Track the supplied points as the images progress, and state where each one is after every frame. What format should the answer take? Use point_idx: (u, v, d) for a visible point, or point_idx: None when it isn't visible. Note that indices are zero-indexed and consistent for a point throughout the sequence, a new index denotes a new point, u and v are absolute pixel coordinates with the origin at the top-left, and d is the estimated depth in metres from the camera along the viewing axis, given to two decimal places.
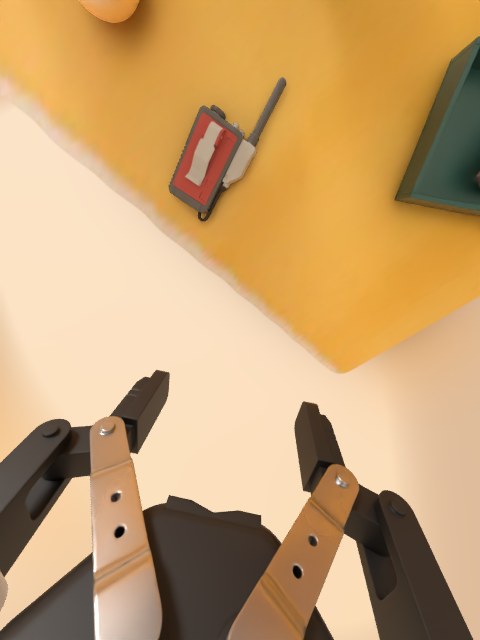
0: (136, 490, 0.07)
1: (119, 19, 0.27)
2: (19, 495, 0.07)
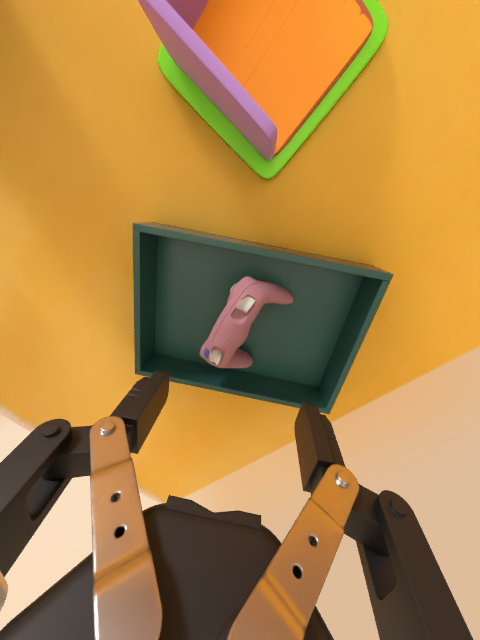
0: (136, 490, 0.07)
1: None
2: (19, 495, 0.07)
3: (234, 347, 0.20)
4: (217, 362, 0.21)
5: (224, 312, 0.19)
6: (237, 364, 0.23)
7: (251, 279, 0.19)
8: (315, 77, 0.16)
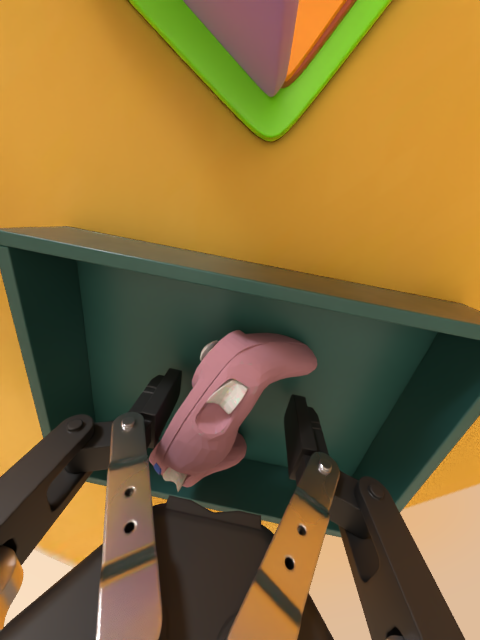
0: (148, 488, 0.07)
1: None
2: (41, 486, 0.07)
3: (206, 470, 0.10)
4: (177, 487, 0.11)
5: (183, 411, 0.09)
6: (219, 467, 0.14)
7: (239, 340, 0.10)
8: None
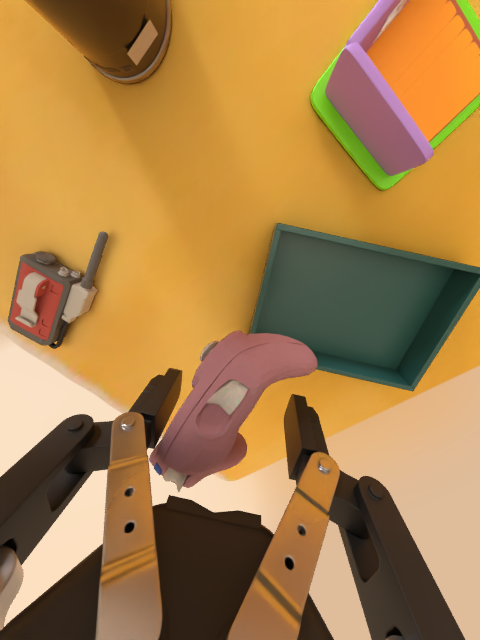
0: (148, 488, 0.07)
1: None
2: (41, 486, 0.07)
3: (207, 470, 0.10)
4: (178, 487, 0.11)
5: (184, 412, 0.09)
6: (219, 467, 0.14)
7: (239, 341, 0.10)
8: (442, 112, 0.20)
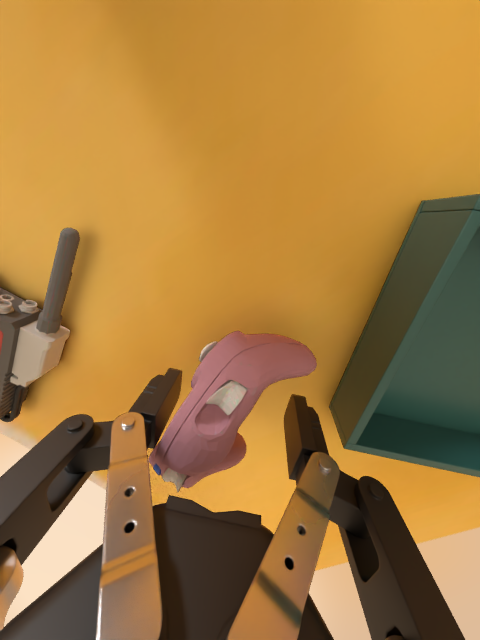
0: (149, 488, 0.07)
1: None
2: (41, 486, 0.07)
3: (206, 470, 0.10)
4: (177, 487, 0.11)
5: (183, 412, 0.09)
6: (219, 468, 0.14)
7: (238, 341, 0.10)
8: None
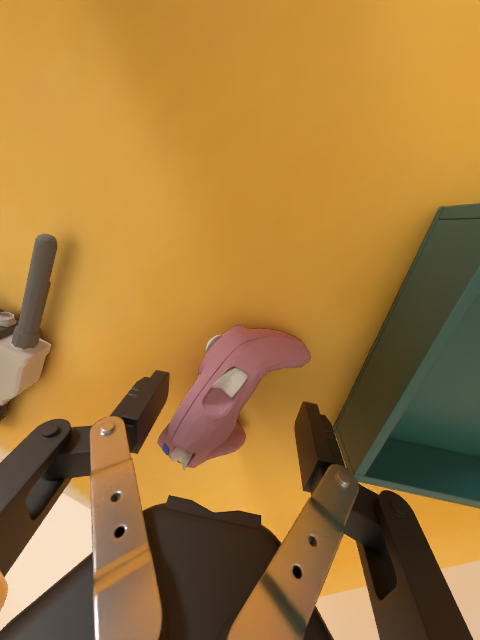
0: (136, 490, 0.07)
1: None
2: (19, 495, 0.07)
3: (210, 449, 0.11)
4: (183, 466, 0.12)
5: (192, 395, 0.10)
6: (220, 452, 0.15)
7: (241, 333, 0.11)
8: None
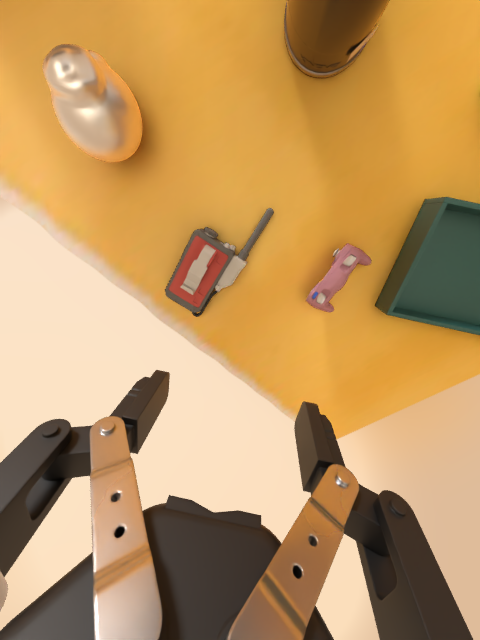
0: (136, 490, 0.07)
1: None
2: (19, 495, 0.07)
3: (337, 289, 0.30)
4: (322, 301, 0.31)
5: (335, 265, 0.29)
6: (328, 307, 0.34)
7: (351, 245, 0.30)
8: None
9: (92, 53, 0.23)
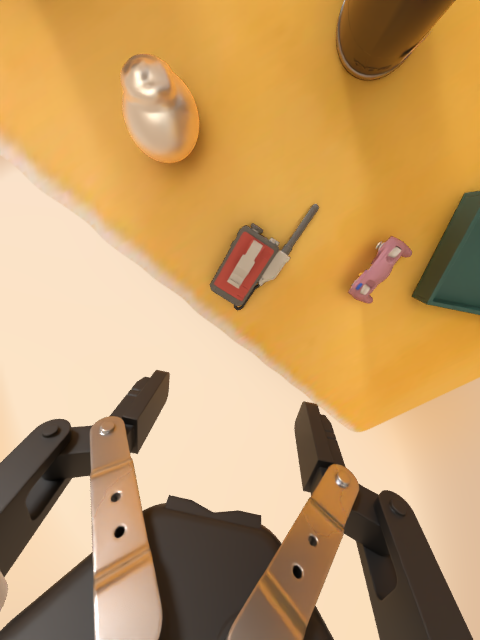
0: (136, 490, 0.07)
1: None
2: (19, 495, 0.07)
3: (382, 280, 0.32)
4: (366, 292, 0.33)
5: (381, 257, 0.31)
6: (369, 298, 0.35)
7: None
8: None
9: None
